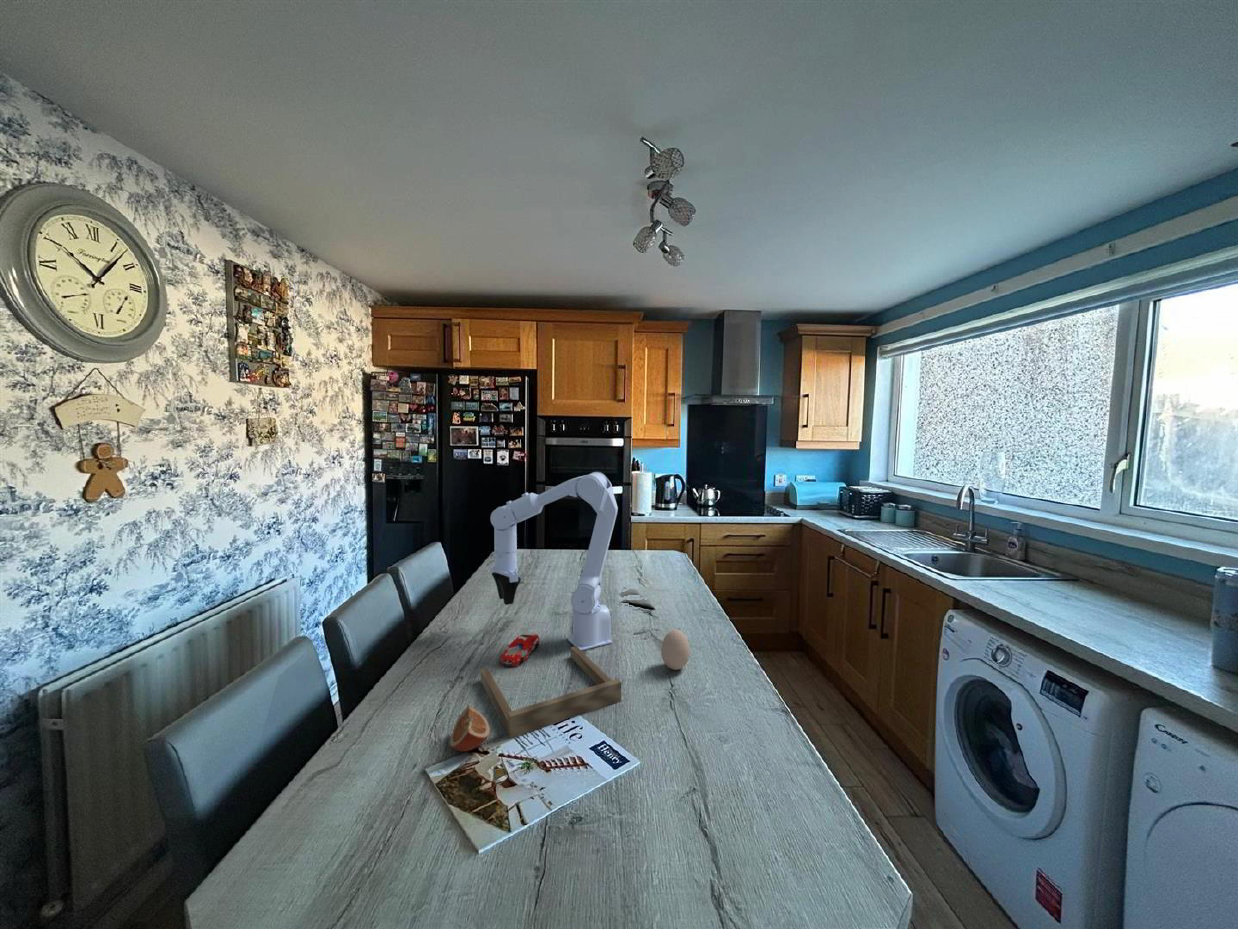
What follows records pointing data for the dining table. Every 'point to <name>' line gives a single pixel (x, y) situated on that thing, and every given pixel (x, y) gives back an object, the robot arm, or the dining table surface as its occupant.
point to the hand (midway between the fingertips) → (506, 601)
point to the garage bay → (555, 700)
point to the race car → (520, 649)
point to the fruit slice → (469, 730)
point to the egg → (675, 649)
